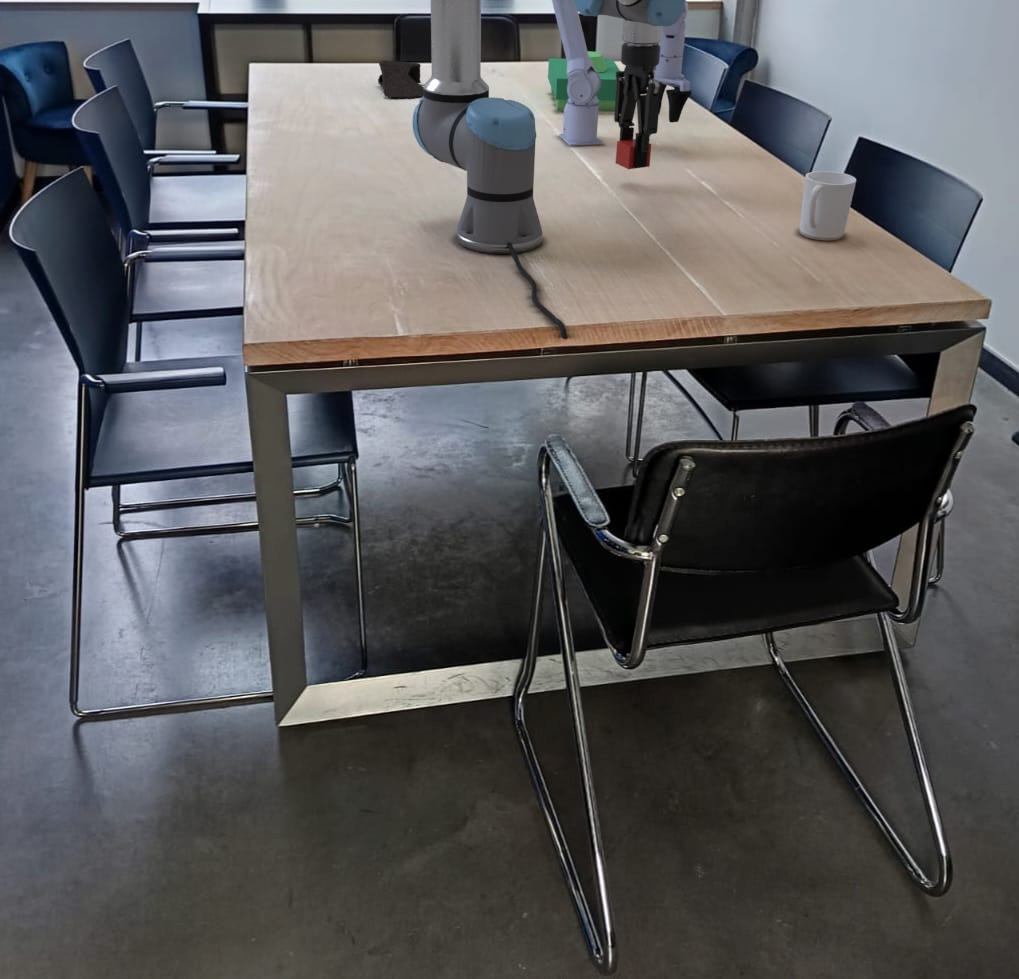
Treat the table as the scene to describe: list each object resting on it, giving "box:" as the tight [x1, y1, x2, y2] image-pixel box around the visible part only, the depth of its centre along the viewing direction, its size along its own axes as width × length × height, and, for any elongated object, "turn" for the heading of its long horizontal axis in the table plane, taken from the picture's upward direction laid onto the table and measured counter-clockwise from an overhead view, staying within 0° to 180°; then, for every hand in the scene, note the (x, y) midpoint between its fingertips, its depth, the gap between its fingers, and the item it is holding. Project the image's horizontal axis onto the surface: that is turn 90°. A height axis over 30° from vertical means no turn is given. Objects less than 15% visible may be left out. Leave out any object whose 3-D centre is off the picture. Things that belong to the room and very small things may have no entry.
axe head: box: [377, 59, 424, 99], centre depth 299 cm, size 18×8×15 cm
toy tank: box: [547, 50, 624, 112], centre depth 293 cm, size 18×12×35 cm
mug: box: [798, 170, 857, 241], centre depth 199 cm, size 11×9×10 cm
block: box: [615, 138, 652, 170], centre depth 224 cm, size 5×5×4 cm
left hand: (632, 163), depth 225 cm, fingers closed on block, 5 cm apart
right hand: (664, 118), depth 250 cm, fingers open, 7 cm apart
